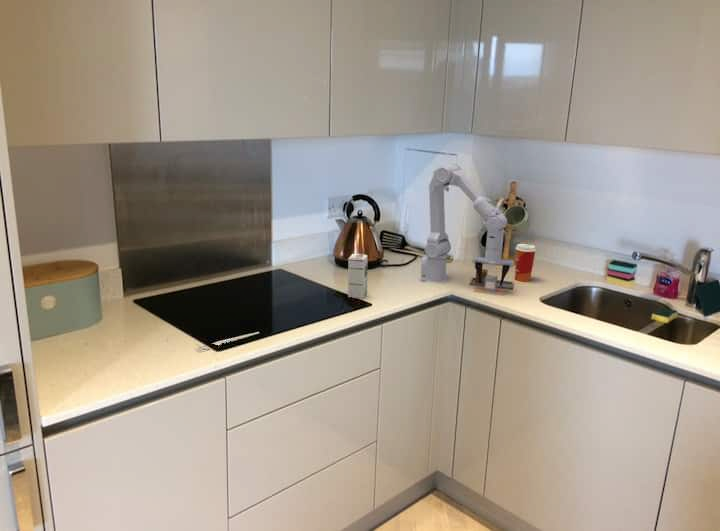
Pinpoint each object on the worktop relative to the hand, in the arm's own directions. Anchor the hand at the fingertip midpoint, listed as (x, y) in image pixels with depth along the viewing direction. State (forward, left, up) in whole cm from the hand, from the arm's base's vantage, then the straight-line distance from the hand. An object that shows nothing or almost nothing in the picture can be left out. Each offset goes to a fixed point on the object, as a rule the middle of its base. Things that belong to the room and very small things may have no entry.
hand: (490, 283), depth 215 cm
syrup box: (-44, -22, -3) cm, 49 cm away
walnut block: (-4, +8, -3) cm, 9 cm away
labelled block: (0, 0, -2) cm, 2 cm away
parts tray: (0, +8, -3) cm, 9 cm away
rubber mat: (0, 0, -3) cm, 3 cm away
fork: (-66, -72, -4) cm, 98 cm away
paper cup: (+11, +18, -3) cm, 22 cm away
